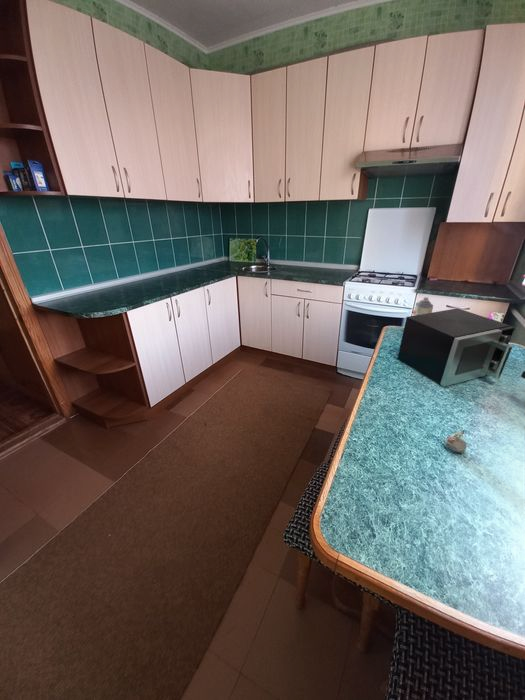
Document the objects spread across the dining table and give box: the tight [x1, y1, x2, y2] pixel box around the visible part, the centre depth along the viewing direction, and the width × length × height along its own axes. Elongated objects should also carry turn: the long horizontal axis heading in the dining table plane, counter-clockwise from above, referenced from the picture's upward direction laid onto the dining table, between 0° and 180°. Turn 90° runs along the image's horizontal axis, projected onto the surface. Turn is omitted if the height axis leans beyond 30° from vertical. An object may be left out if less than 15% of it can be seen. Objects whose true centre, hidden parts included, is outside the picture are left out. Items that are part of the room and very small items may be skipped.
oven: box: [397, 308, 516, 385], centre depth 107 cm, size 22×26×18 cm
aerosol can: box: [412, 296, 434, 316], centre depth 128 cm, size 7×7×20 cm
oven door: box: [439, 329, 514, 387], centre depth 96 cm, size 8×20×18 cm, turn 110°
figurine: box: [444, 429, 468, 454], centre depth 73 cm, size 5×4×6 cm
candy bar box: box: [486, 311, 506, 323], centre depth 116 cm, size 11×5×16 cm, turn 137°
